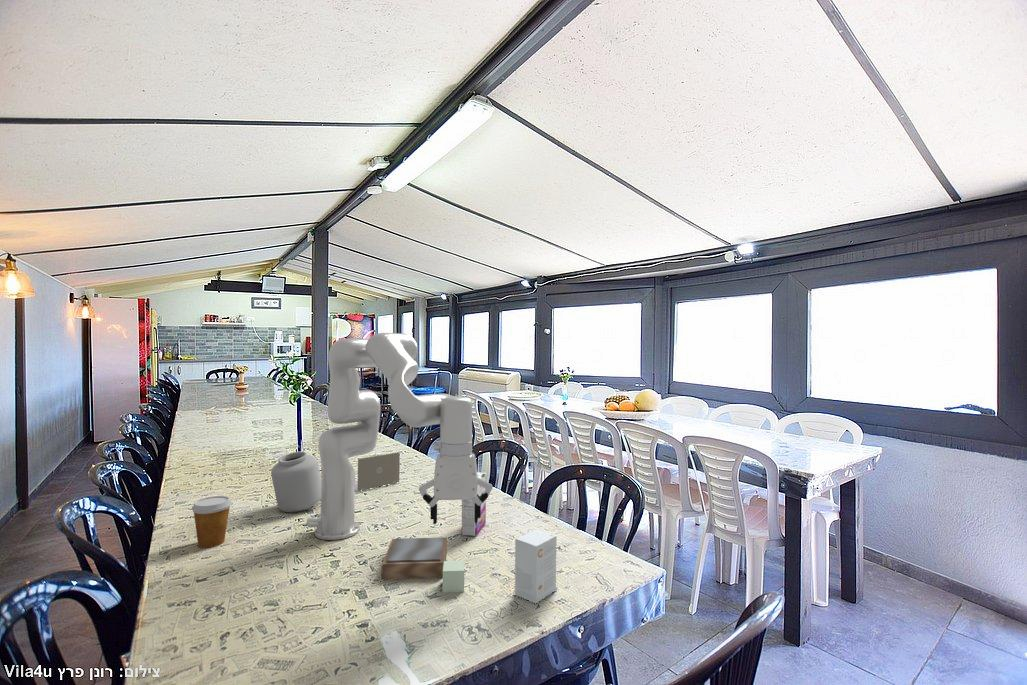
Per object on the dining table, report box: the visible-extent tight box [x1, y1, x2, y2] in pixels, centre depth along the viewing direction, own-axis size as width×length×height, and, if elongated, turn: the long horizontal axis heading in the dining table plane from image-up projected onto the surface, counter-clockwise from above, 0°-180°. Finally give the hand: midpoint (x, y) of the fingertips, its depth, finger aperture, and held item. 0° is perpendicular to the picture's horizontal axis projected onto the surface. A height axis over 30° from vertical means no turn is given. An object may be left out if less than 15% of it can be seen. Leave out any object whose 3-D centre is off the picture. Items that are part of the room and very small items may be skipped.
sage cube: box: [441, 560, 466, 593], centre depth 111 cm, size 5×5×5 cm
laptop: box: [355, 451, 401, 492], centre depth 190 cm, size 18×12×13 cm
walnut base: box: [381, 536, 448, 580], centre depth 122 cm, size 15×15×4 cm
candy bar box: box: [461, 471, 487, 538], centre depth 145 cm, size 11×5×16 cm, turn 168°
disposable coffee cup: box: [191, 495, 233, 549], centre depth 132 cm, size 10×10×12 cm
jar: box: [270, 436, 321, 519], centre depth 161 cm, size 19×15×25 cm
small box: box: [514, 528, 557, 605], centre depth 109 cm, size 8×6×13 cm
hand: (455, 521), depth 111 cm, fingers open, 9 cm apart
